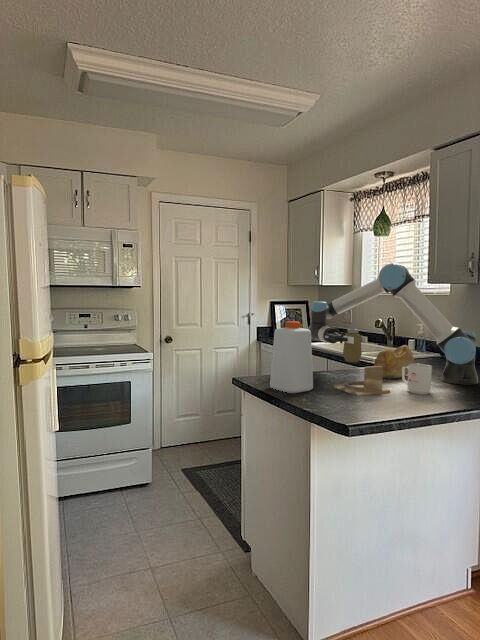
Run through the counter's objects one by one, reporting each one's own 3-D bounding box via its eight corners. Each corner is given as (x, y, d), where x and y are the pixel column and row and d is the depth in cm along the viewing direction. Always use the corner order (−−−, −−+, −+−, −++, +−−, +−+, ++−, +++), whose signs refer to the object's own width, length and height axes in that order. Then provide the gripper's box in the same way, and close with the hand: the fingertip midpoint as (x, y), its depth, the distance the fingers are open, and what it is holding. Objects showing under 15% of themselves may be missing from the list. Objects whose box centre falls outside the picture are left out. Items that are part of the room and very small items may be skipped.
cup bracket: (333, 387, 190) (334, 361, 189) (364, 384, 196) (365, 359, 195) (357, 395, 175) (358, 368, 174) (390, 392, 181) (391, 365, 180)
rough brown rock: (390, 372, 231) (388, 343, 231) (419, 374, 218) (418, 344, 218) (361, 378, 218) (359, 348, 217) (391, 381, 204) (389, 349, 204)
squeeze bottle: (350, 363, 192) (352, 321, 191) (338, 360, 200) (340, 320, 198) (365, 362, 196) (366, 321, 195) (352, 359, 203) (354, 320, 202)
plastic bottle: (265, 388, 187) (266, 321, 185) (291, 383, 196) (293, 320, 194) (290, 395, 175) (292, 323, 173) (317, 390, 184) (319, 322, 182)
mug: (434, 392, 182) (435, 365, 182) (424, 395, 177) (425, 368, 176) (407, 387, 192) (408, 361, 191) (396, 390, 186) (397, 363, 185)
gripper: (346, 342, 218) (377, 348, 196) (311, 343, 210) (340, 349, 189) (346, 326, 217) (378, 331, 196) (312, 327, 210) (341, 332, 188)
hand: (359, 340), depth 193 cm, fingers closed on squeeze bottle, 6 cm apart
